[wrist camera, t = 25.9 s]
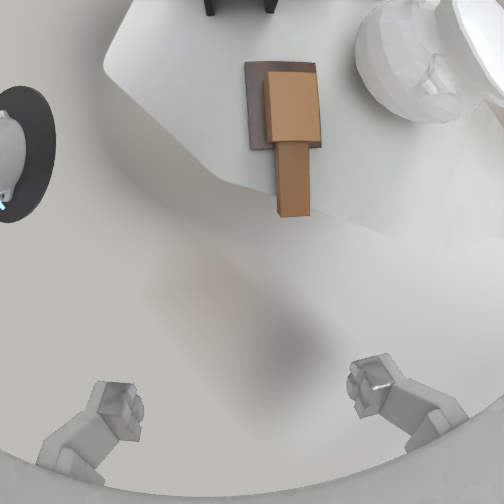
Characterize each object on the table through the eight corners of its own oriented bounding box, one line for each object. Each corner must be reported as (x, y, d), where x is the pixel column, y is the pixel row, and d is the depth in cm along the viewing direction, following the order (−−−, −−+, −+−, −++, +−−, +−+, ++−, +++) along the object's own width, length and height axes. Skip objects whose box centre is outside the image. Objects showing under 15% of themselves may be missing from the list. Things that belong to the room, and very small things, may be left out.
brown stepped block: (270, 213, 39) (275, 221, 35) (263, 80, 32) (268, 71, 28) (311, 210, 40) (321, 219, 35) (305, 81, 33) (316, 73, 28)
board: (250, 149, 37) (251, 149, 36) (244, 64, 33) (244, 61, 31) (318, 147, 38) (321, 147, 36) (312, 65, 33) (315, 62, 32)
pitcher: (311, 66, 33) (403, -9, 10) (371, 8, 29) (459, -52, 6) (396, 148, 38) (521, 167, 15) (442, 84, 34) (548, 75, 11)
